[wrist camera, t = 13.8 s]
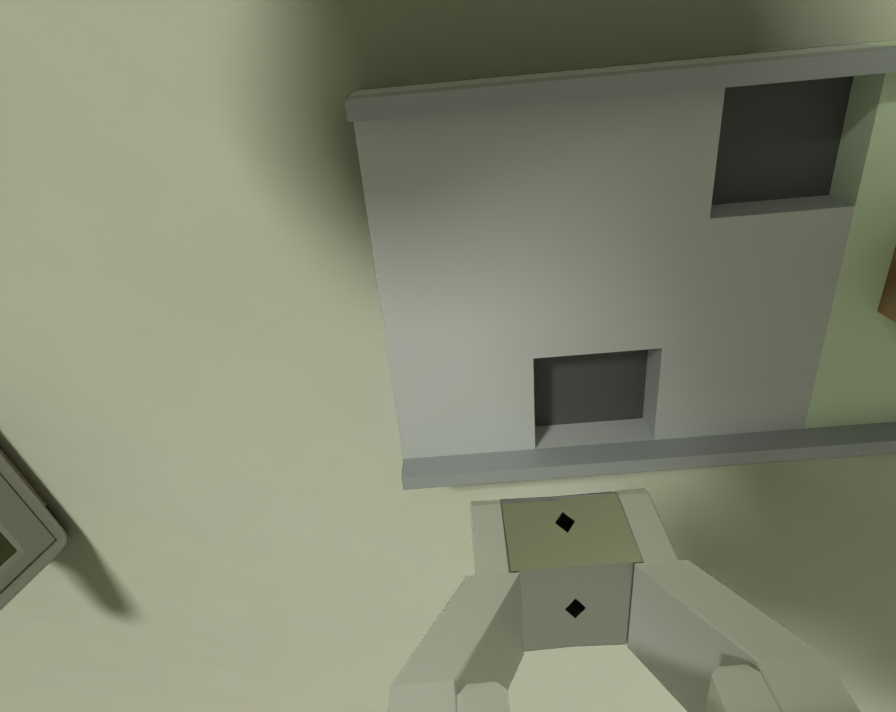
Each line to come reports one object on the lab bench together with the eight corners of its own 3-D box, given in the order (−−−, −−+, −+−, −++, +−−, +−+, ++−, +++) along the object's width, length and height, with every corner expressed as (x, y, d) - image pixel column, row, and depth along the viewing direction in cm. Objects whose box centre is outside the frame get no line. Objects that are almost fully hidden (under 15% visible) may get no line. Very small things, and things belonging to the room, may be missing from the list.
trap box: (356, 90, 34) (342, 101, 29) (1027, 27, 33) (1129, 28, 28) (406, 444, 45) (403, 494, 40) (906, 406, 44) (964, 453, 39)
